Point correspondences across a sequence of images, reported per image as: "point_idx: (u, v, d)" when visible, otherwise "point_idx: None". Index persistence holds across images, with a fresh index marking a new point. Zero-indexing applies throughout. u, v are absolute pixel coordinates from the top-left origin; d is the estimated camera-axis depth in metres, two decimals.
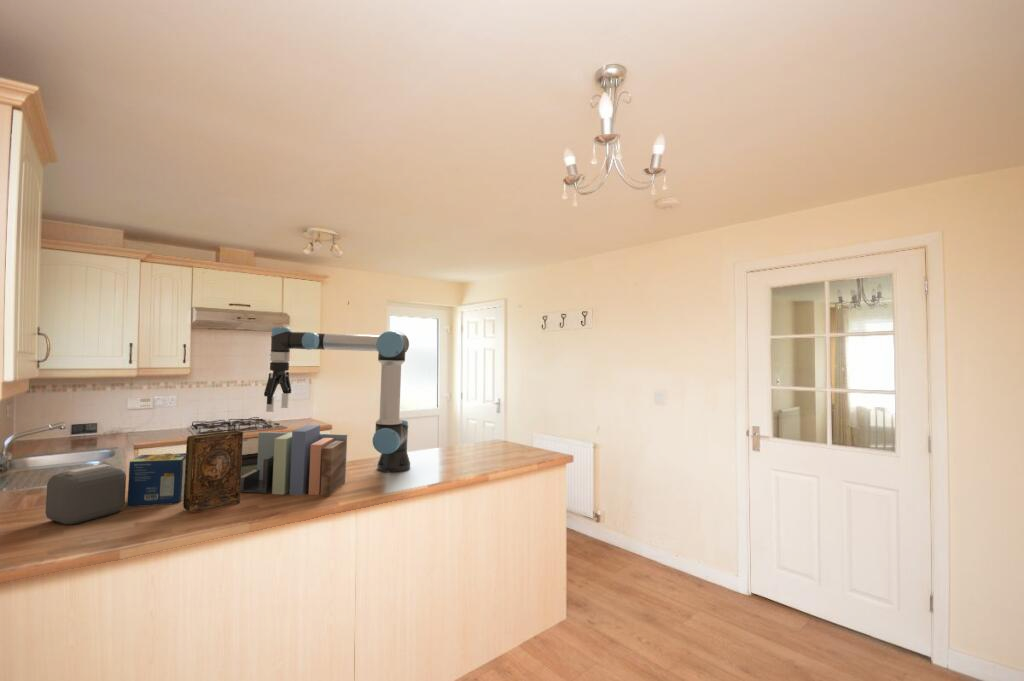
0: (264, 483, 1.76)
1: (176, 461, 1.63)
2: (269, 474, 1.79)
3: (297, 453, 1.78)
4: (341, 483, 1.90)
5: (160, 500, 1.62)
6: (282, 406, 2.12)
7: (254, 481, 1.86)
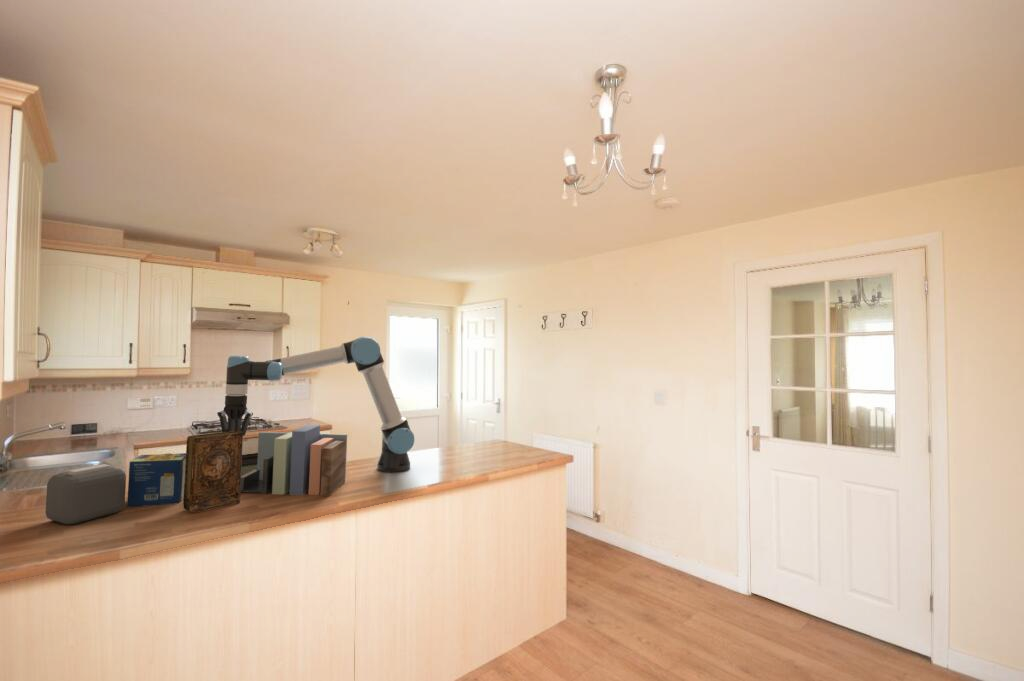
0: (264, 483, 1.76)
1: (176, 461, 1.63)
2: (269, 474, 1.79)
3: (297, 453, 1.78)
4: (341, 483, 1.90)
5: (160, 500, 1.62)
6: None
7: (254, 481, 1.86)
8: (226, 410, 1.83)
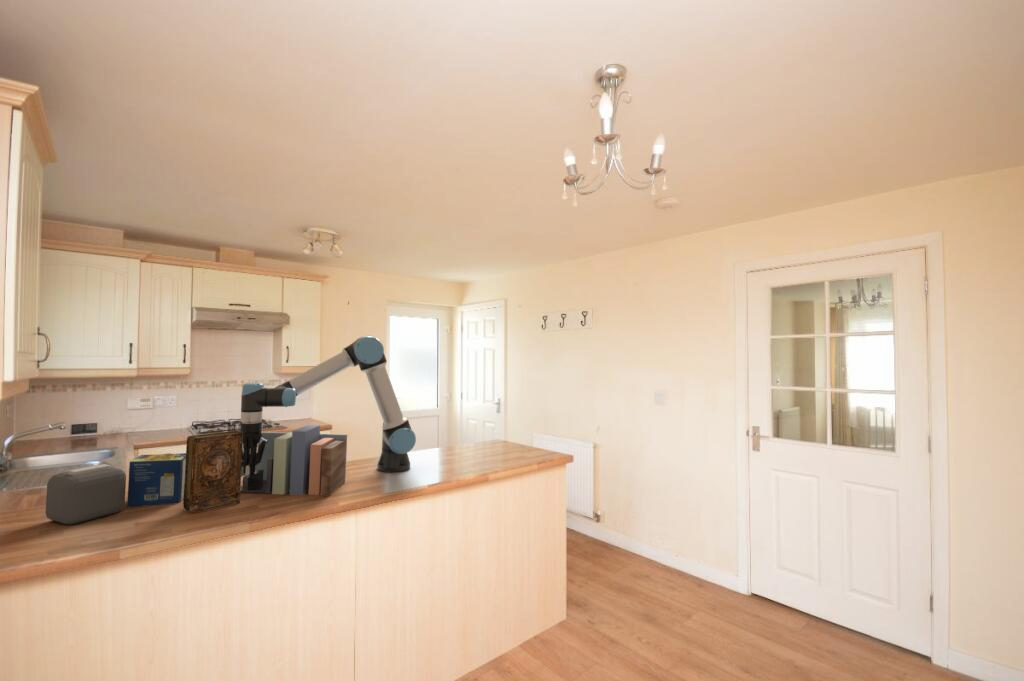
0: (268, 483, 1.77)
1: (176, 461, 1.63)
2: None
3: (297, 453, 1.78)
4: (341, 483, 1.90)
5: (160, 500, 1.62)
6: None
7: (258, 481, 1.86)
8: None
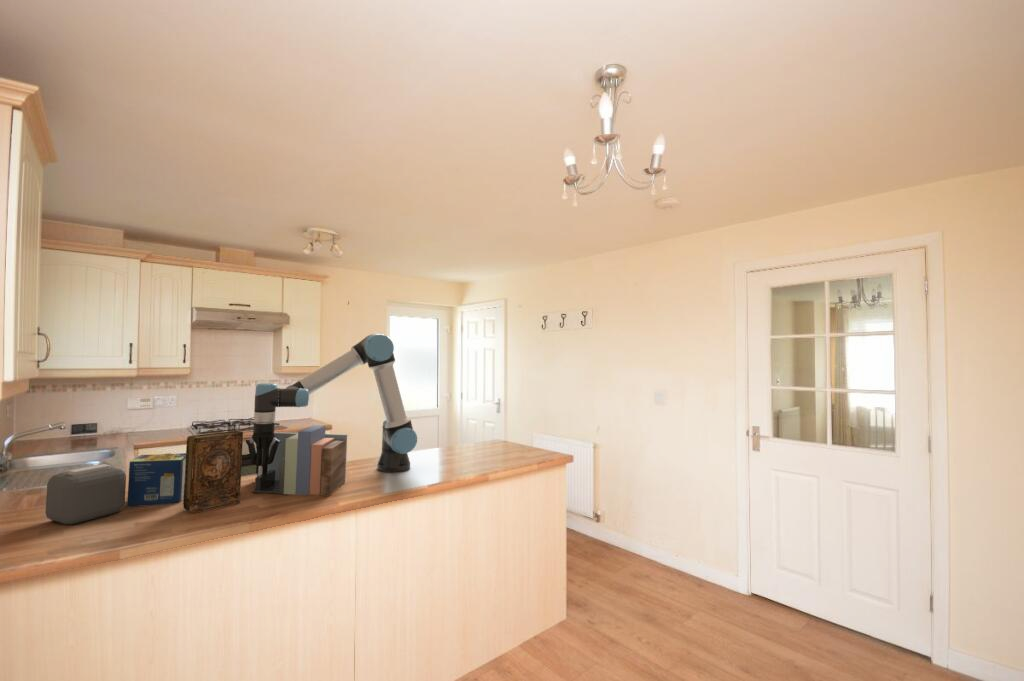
0: (281, 483, 1.77)
1: (176, 461, 1.63)
2: None
3: (303, 453, 1.78)
4: (341, 483, 1.90)
5: (160, 500, 1.62)
6: None
7: (270, 481, 1.86)
8: (254, 438, 1.84)
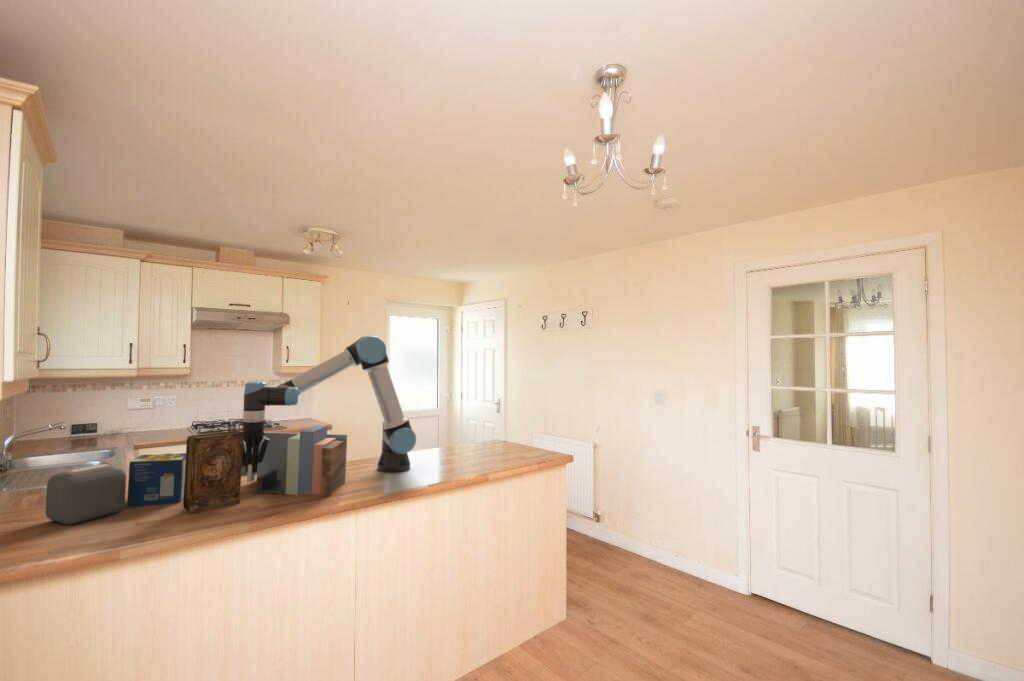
0: (283, 483, 1.77)
1: (176, 461, 1.63)
2: None
3: (305, 453, 1.78)
4: (341, 483, 1.90)
5: (160, 500, 1.62)
6: None
7: (272, 481, 1.87)
8: (244, 436, 1.83)
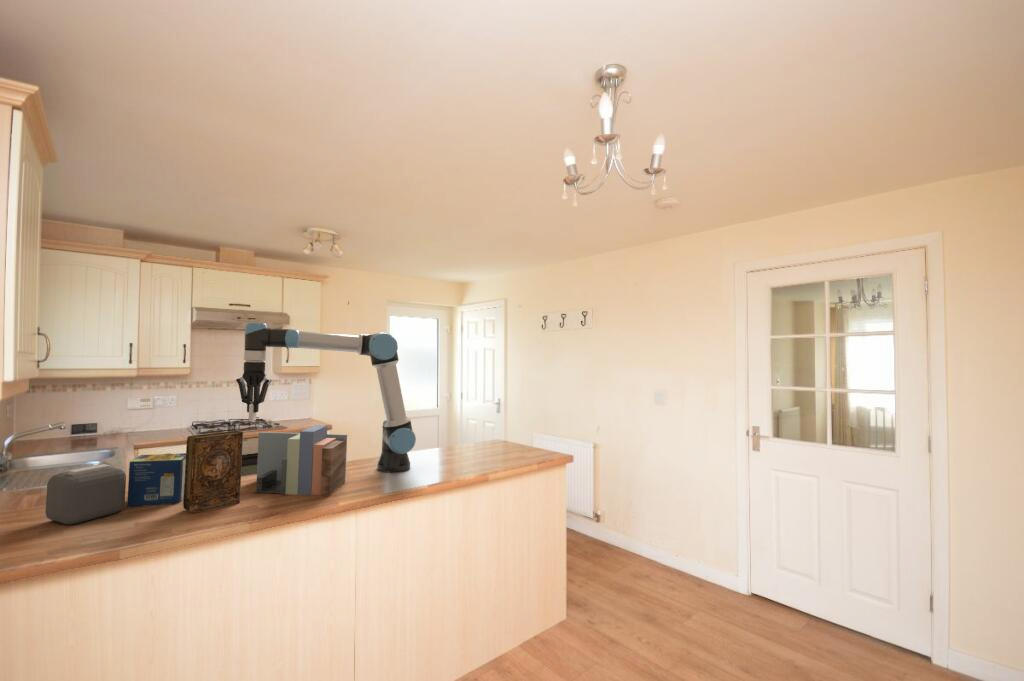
0: (283, 483, 1.77)
1: (176, 461, 1.63)
2: None
3: (305, 453, 1.78)
4: (341, 483, 1.90)
5: (160, 500, 1.62)
6: None
7: (272, 481, 1.86)
8: (245, 376, 1.84)
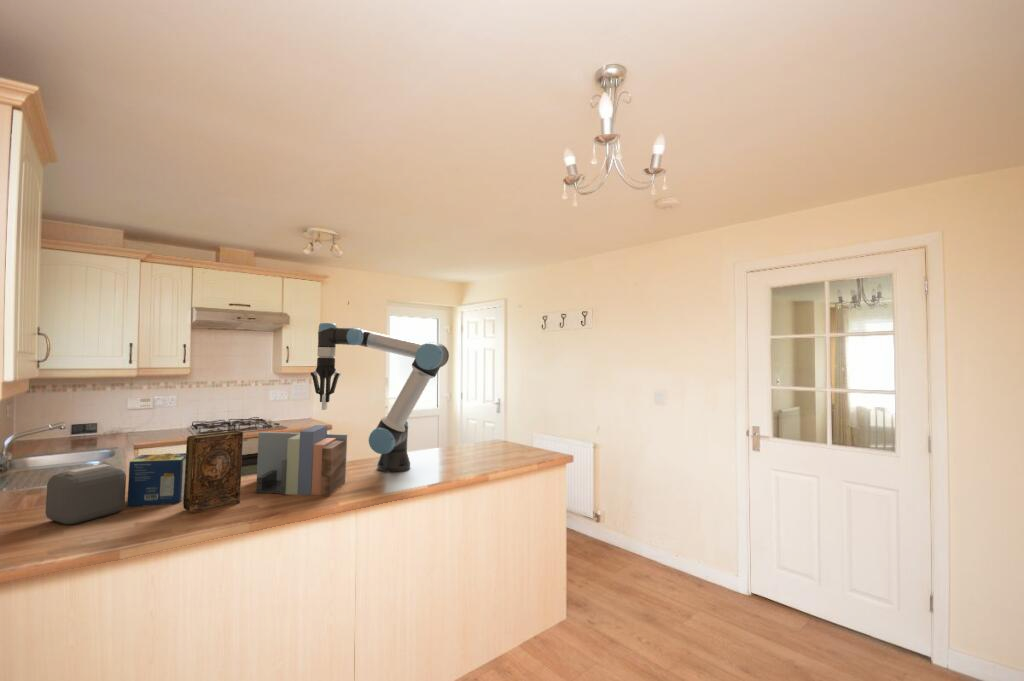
0: (283, 483, 1.77)
1: (176, 461, 1.63)
2: None
3: (305, 453, 1.78)
4: (341, 483, 1.90)
5: (160, 500, 1.62)
6: None
7: (272, 481, 1.86)
8: (318, 370, 2.09)
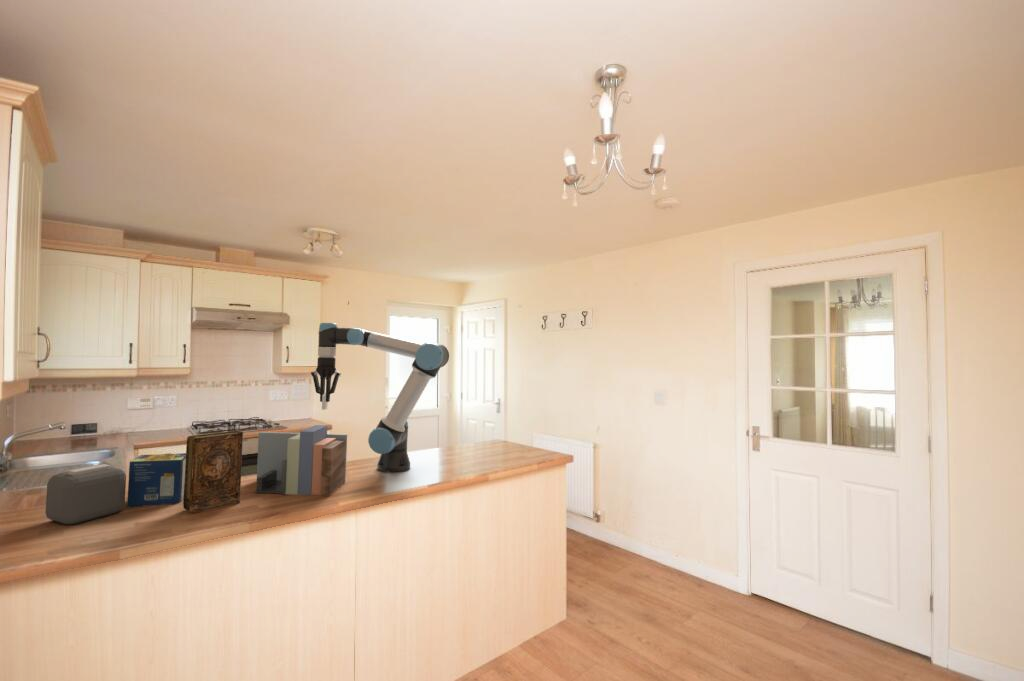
0: (283, 483, 1.77)
1: (176, 461, 1.63)
2: None
3: (305, 453, 1.78)
4: (341, 483, 1.90)
5: (160, 500, 1.62)
6: None
7: (272, 481, 1.86)
8: (318, 370, 2.09)
